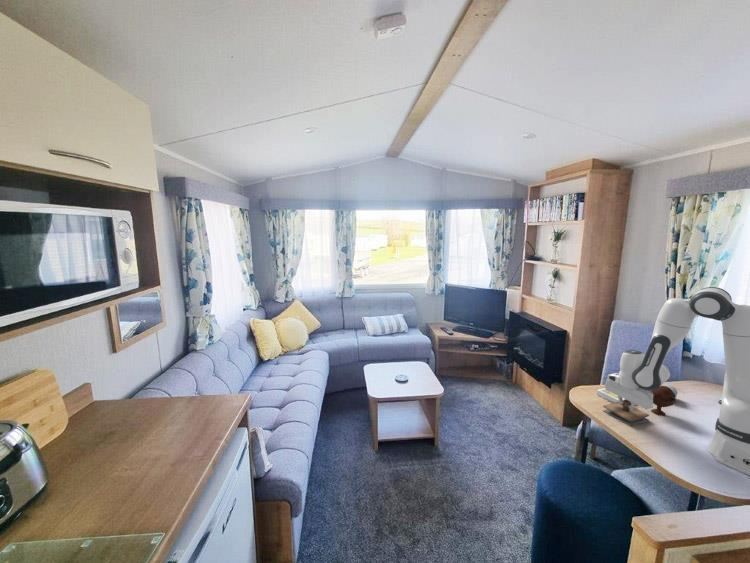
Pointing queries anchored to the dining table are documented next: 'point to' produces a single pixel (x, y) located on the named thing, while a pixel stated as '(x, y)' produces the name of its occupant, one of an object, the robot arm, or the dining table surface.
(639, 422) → the mat
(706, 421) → the dining table surface
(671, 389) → the ceramic mug
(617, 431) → the dining table surface
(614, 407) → the lid
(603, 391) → the dish
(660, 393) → the ice cream bowl
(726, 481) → the dining table surface
